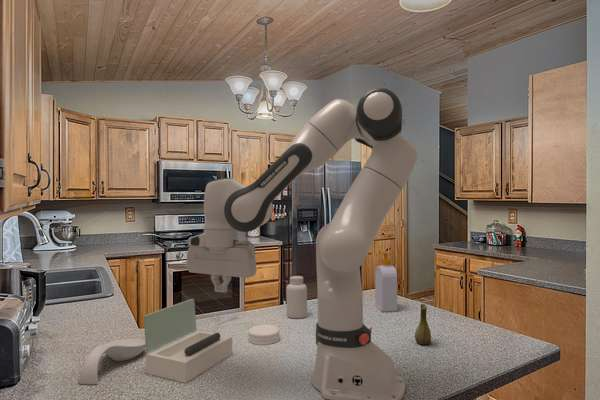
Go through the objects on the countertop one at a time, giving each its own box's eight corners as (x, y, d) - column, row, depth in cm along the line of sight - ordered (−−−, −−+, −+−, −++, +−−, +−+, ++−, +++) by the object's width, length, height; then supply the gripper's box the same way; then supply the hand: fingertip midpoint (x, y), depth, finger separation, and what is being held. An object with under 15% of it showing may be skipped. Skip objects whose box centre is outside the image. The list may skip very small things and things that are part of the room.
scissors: (240, 315, 151) (223, 332, 131) (240, 317, 151) (223, 334, 131) (214, 314, 152) (193, 331, 133) (214, 316, 152) (193, 333, 133)
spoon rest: (116, 348, 119) (116, 325, 119) (154, 349, 119) (154, 325, 119) (65, 385, 96) (65, 356, 96) (111, 386, 95) (111, 357, 95)
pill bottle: (294, 311, 156) (294, 274, 156) (311, 315, 152) (311, 276, 152) (282, 316, 150) (282, 277, 150) (299, 320, 145) (299, 280, 145)
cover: (194, 298, 119) (192, 298, 120) (145, 315, 102) (143, 315, 102) (196, 330, 119) (194, 330, 119) (148, 352, 102) (146, 352, 102)
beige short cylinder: (242, 342, 123) (242, 331, 123) (258, 332, 132) (258, 322, 132) (269, 347, 119) (269, 336, 119) (284, 337, 128) (284, 326, 128)
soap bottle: (373, 306, 164) (373, 251, 164) (389, 305, 164) (389, 251, 164) (380, 312, 155) (380, 254, 155) (397, 311, 155) (397, 254, 155)
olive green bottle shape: (426, 347, 118) (426, 308, 118) (411, 343, 121) (410, 305, 121) (434, 342, 122) (434, 304, 122) (419, 338, 125) (419, 301, 125)
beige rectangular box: (232, 353, 114) (232, 336, 114) (185, 383, 96) (185, 362, 96) (196, 346, 120) (196, 330, 120) (146, 373, 101) (146, 354, 101)
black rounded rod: (221, 339, 112) (221, 332, 112) (188, 357, 99) (188, 349, 99) (216, 338, 113) (216, 331, 113) (182, 355, 100) (182, 348, 100)
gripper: (261, 240, 102) (261, 293, 102) (198, 236, 111) (198, 285, 111) (247, 242, 96) (248, 298, 96) (183, 239, 105) (183, 290, 105)
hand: (221, 291), depth 104 cm, fingers closed
